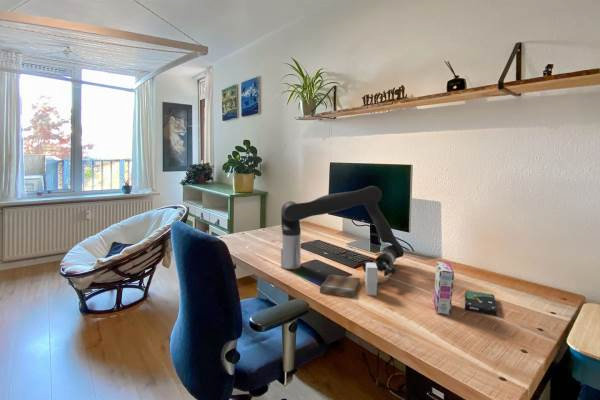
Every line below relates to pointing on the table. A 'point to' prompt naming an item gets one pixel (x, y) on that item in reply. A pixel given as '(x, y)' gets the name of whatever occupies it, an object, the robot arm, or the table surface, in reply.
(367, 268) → the skincare box
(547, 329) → the table surface
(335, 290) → the walnut riser
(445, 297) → the candy bar box
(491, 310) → the disk drive
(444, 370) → the table surface
